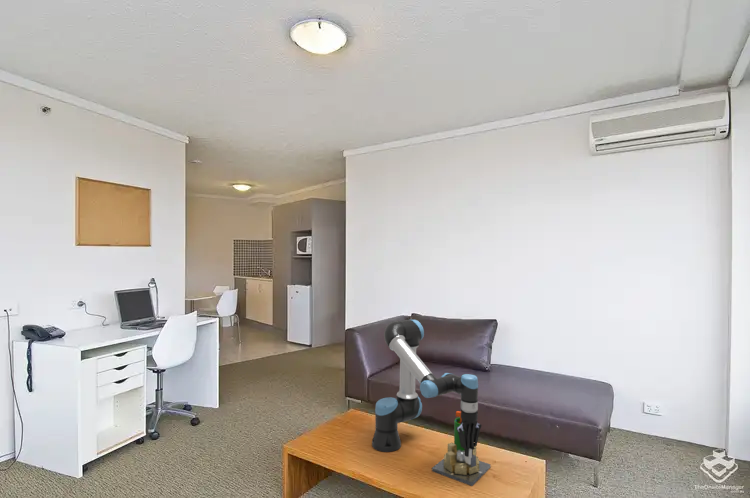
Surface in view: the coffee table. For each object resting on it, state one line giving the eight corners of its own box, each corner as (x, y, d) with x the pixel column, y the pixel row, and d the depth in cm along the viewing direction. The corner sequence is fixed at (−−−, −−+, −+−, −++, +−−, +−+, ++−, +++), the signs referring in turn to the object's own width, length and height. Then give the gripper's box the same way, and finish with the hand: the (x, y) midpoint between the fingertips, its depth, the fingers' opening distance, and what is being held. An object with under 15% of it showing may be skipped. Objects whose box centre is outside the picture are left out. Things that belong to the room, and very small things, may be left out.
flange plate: (431, 471, 190) (431, 453, 190) (452, 454, 206) (452, 438, 206) (472, 486, 178) (472, 467, 178) (490, 467, 193) (490, 450, 193)
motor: (472, 457, 203) (472, 417, 203) (453, 456, 204) (453, 415, 205) (471, 448, 213) (471, 409, 213) (454, 446, 214) (454, 408, 215)
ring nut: (460, 478, 181) (460, 461, 181) (437, 462, 194) (437, 447, 195) (486, 468, 189) (486, 452, 189) (462, 454, 203) (462, 439, 203)
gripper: (463, 415, 180) (462, 469, 179) (485, 410, 186) (485, 463, 185) (452, 409, 187) (451, 462, 186) (474, 405, 192) (474, 456, 191)
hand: (468, 463), depth 185 cm, fingers closed
